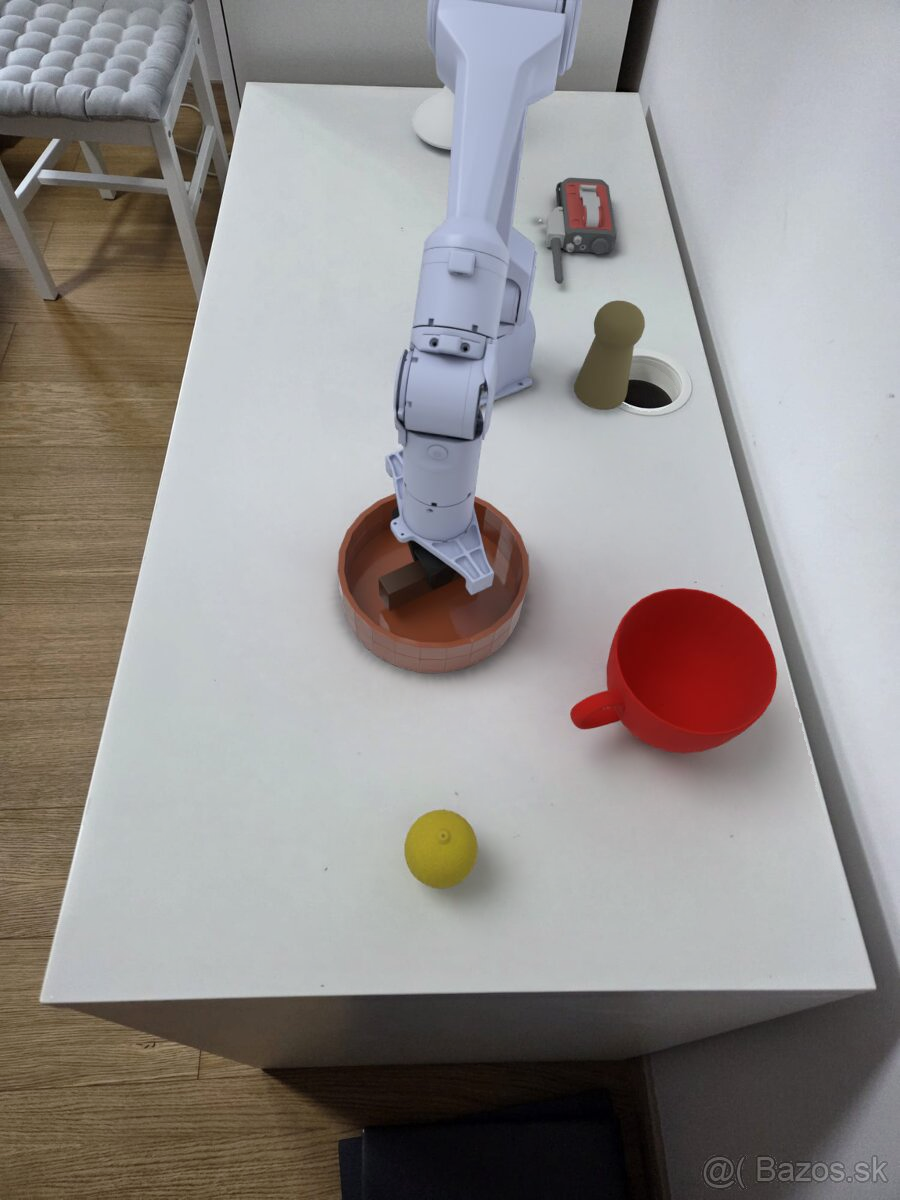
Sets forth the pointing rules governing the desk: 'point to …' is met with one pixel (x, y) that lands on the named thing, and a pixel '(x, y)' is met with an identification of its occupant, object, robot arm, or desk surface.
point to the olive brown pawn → (610, 356)
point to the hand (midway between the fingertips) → (433, 572)
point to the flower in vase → (436, 119)
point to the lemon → (441, 849)
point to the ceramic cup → (684, 673)
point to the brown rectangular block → (405, 584)
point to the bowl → (431, 595)
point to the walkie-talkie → (580, 220)
